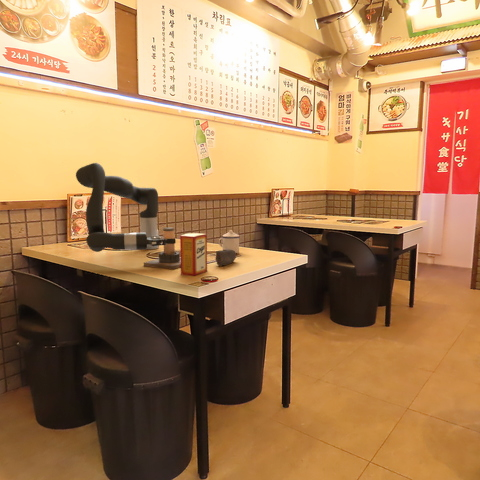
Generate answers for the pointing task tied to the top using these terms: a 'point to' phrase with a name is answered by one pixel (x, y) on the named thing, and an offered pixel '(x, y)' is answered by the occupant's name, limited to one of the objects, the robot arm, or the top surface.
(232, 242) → the teacup with lid
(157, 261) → the socket board
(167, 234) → the tan cylinder
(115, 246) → the robot arm
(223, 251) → the perforated stone tool
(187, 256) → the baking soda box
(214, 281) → the top surface
